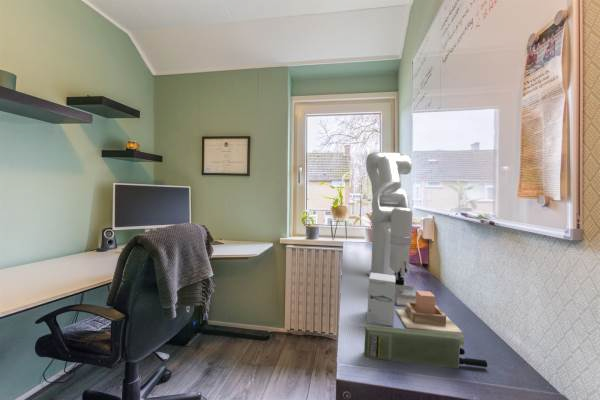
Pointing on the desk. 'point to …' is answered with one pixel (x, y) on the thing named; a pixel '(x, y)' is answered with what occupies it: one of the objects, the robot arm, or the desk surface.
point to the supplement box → (381, 299)
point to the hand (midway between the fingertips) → (398, 289)
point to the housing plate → (404, 294)
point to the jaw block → (425, 302)
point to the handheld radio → (416, 347)
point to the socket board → (426, 320)
